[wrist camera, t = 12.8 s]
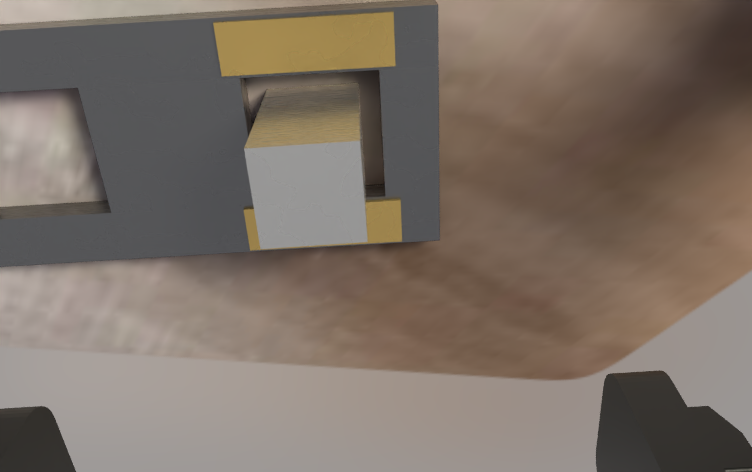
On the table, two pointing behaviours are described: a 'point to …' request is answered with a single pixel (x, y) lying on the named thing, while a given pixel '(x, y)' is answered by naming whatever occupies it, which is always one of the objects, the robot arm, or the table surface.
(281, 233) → the steel block
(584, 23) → the table surface
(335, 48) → the fixture plate
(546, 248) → the table surface
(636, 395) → the robot arm
